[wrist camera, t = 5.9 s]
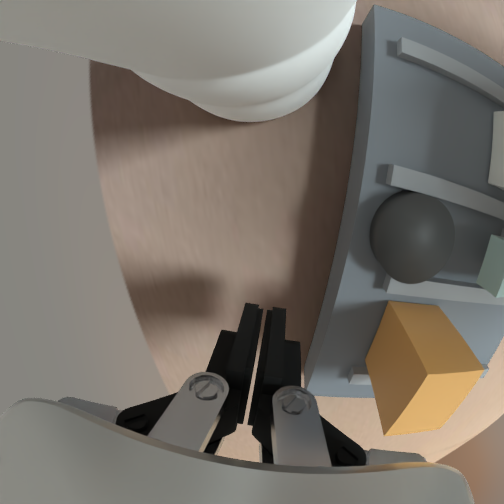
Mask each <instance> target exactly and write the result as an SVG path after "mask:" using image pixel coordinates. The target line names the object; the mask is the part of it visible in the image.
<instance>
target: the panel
mask: <svg viewBox="0 0 504 504" xmlns="http://www.w3.org/2000/svg"><path fill="white" fill-rule="evenodd" d="M497 111H504V67H503V66H502V65H500V64H499V63H497V62H496V61H494V60H493V59H491V58H490V57H488V56H487V55H485V54H484V53H482V52H481V51H479V50H477V49H476V48H474V47H472V46H470V45H469V44H467V43H465V42H463V41H462V40H460V39H458V38H456V37H454V36H452V35H450V34H448V33H446V32H444V31H442V30H440V29H438V28H436V27H434V26H431V25H429V24H427V23H424V22H422V21H420V20H417V19H415V18H412V17H410V16H407V15H404V14H402V13H399V12H396V11H393V10H390V9H387V8H384V7H381V6H377V5H373V7H372V9H371V10H370V12H369V14H368V15H367V17H366V19H365V20H364V22H363V24H362V49H361V72H360V87H359V100H358V111H357V120H356V130H355V138H354V146H353V154H352V161H351V168H350V174H349V181H348V187H347V193H346V199H345V204H344V210H343V215H342V220H341V226H340V231H339V236H338V240H337V245H336V250H335V254H334V259H333V263H332V268H331V272H330V276H329V280H328V284H327V288H326V292H325V296H324V300H323V304H322V308H321V311H320V315H319V319H318V322H317V326H316V329H315V333H314V336H313V340H312V343H311V347H310V350H309V353H308V356H307V360H306V363H305V366H304V384H305V389H306V390H308V391H310V392H311V393H312V394H313V396H328V397H352V398H375V396H374V392H373V388H372V384H371V380H370V377H369V373H368V370H367V366H366V363H365V358H366V356H367V354H368V351H369V349H370V347H371V345H372V342H373V340H374V337H375V335H376V332H377V330H378V328H379V325H380V322H381V320H382V317H383V315H384V312H385V309H386V306H387V304H388V301H397V302H406V303H416V304H426V305H436V306H439V307H440V309H441V310H442V311H443V312H444V314H445V315H446V316H447V317H448V319H449V320H450V321H451V323H452V324H453V325H454V327H455V328H456V329H457V331H458V332H459V333H460V335H461V336H462V337H463V339H464V340H465V342H466V343H467V344H468V346H469V347H470V349H471V350H472V351H473V353H474V354H475V356H476V357H477V359H478V360H479V362H480V363H481V365H482V366H483V368H484V369H485V370H484V372H483V373H482V375H481V376H480V378H484V376H485V375H486V373H487V372H488V370H489V368H488V366H487V364H488V363H489V361H490V359H491V358H492V356H493V354H494V353H495V351H496V349H497V347H498V346H499V344H500V342H501V340H502V338H503V336H504V297H499V298H496V297H494V296H493V295H492V294H490V293H489V292H488V291H487V290H485V289H484V288H483V287H481V286H480V285H479V284H477V283H476V281H477V278H478V275H479V273H480V270H481V267H482V264H483V261H484V257H485V254H486V251H487V248H488V244H489V241H490V237H491V234H493V235H497V236H501V237H504V190H502V189H500V188H498V187H495V186H493V185H491V184H489V183H488V178H489V171H490V163H491V154H492V141H493V118H494V112H497Z"/></svg>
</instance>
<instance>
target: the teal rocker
mask: <svg viewBox="0 0 504 504" xmlns="http://www.w3.org/2000/svg"><path fill="white" fill-rule="evenodd" d="M476 283H477V284H479V285H480V286H481V287H483V288H484V289H485V290H487V291H488V292H489V293H490V294H492V295H493V296H494V297H496V298H499V297H504V237H501V236H497V235H493V234H491V237H490V241H489V244H488V248H487V251H486V254H485V257H484V261H483V264H482V267H481V270H480V273H479V275H478V278H477V281H476Z"/></svg>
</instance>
